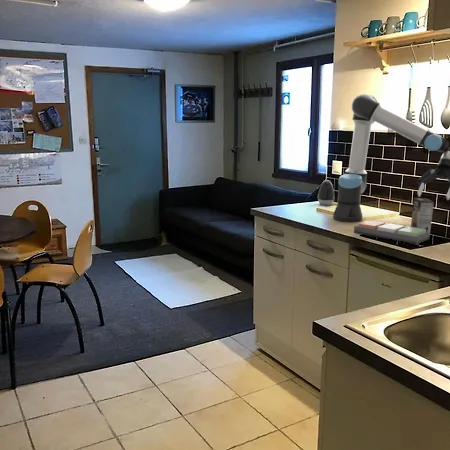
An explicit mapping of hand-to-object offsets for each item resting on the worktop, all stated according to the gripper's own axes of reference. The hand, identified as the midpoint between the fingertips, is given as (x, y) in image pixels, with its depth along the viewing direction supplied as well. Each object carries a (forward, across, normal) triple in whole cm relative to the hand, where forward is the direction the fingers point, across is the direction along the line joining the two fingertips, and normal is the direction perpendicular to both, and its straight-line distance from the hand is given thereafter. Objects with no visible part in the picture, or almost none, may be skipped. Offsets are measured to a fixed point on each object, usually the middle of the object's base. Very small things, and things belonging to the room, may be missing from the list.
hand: (432, 196), depth 234 cm
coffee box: (+19, +1, -5) cm, 19 cm away
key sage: (+28, -2, +8) cm, 29 cm away
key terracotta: (+28, +17, +8) cm, 34 cm away
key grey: (+28, +8, +8) cm, 30 cm away
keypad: (+30, +8, +7) cm, 31 cm away
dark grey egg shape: (-6, +73, -29) cm, 79 cm away
